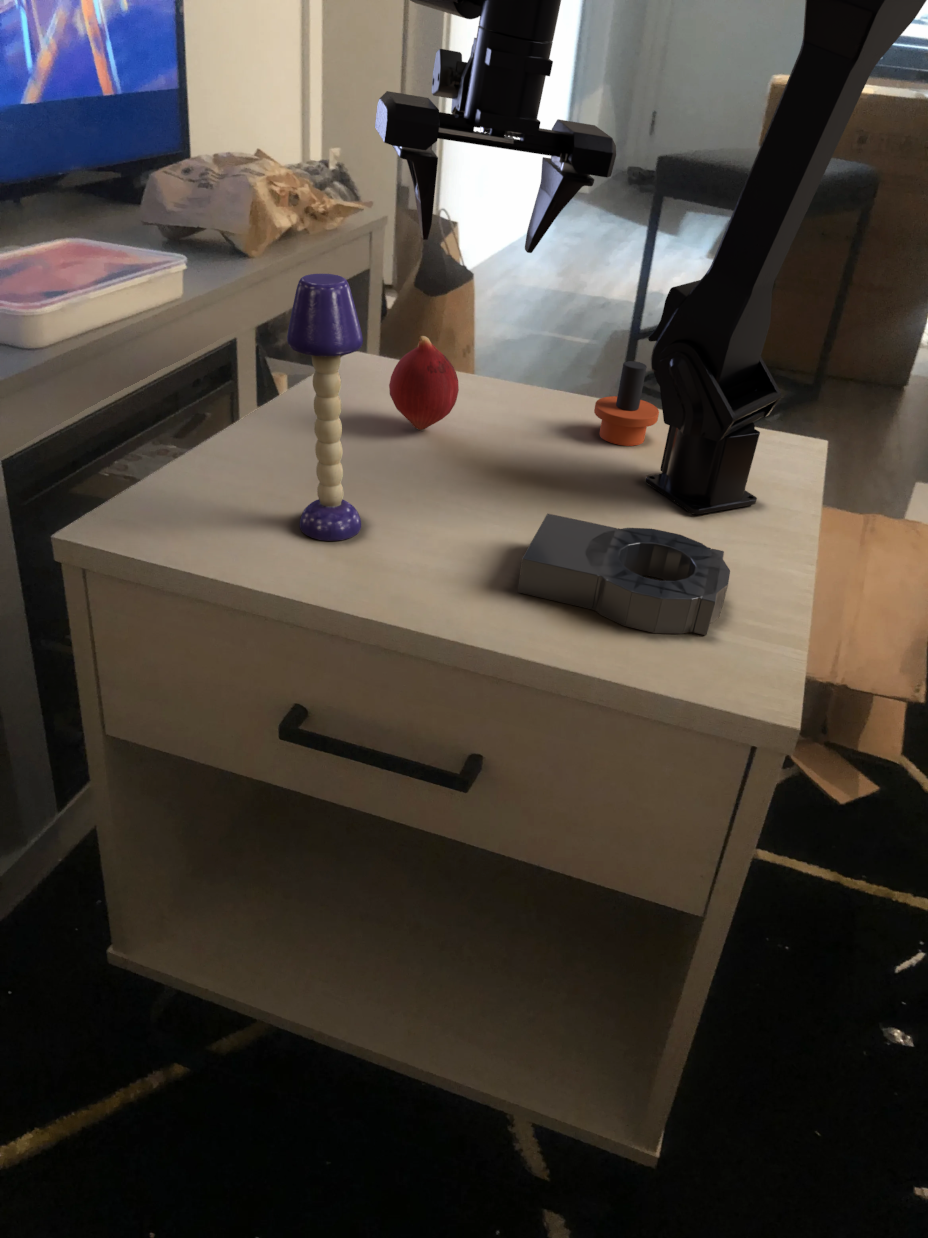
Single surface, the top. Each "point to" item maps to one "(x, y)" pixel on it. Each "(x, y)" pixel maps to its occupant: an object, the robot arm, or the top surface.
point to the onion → (424, 385)
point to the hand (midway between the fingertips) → (476, 245)
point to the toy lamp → (326, 393)
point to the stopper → (626, 409)
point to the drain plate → (627, 574)
